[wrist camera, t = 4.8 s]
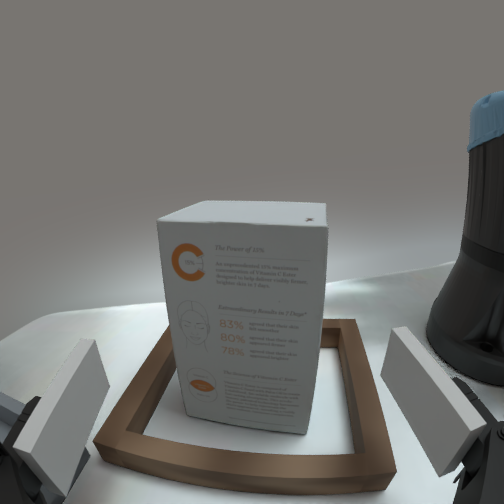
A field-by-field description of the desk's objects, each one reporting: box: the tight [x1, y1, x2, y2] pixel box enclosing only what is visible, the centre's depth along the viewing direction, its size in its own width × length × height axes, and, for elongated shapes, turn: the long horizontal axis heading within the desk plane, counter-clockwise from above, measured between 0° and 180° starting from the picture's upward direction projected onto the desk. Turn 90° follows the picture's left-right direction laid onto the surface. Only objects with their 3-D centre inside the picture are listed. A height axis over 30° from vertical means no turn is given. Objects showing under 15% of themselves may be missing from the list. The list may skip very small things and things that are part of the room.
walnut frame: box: [93, 319, 397, 495], centre depth 20 cm, size 16×16×2 cm
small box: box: [157, 201, 328, 434], centre depth 18 cm, size 8×6×13 cm
